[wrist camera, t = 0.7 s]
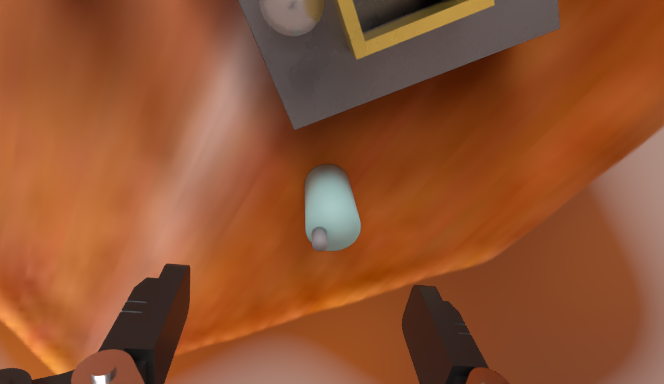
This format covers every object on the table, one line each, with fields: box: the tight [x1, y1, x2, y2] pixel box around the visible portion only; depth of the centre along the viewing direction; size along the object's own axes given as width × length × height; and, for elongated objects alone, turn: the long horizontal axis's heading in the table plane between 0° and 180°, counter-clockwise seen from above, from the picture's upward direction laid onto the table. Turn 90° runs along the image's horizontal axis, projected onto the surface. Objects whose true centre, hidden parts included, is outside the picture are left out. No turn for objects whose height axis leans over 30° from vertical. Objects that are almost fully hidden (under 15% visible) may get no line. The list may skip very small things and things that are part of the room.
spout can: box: [305, 164, 361, 251], centre depth 33 cm, size 4×4×10 cm
